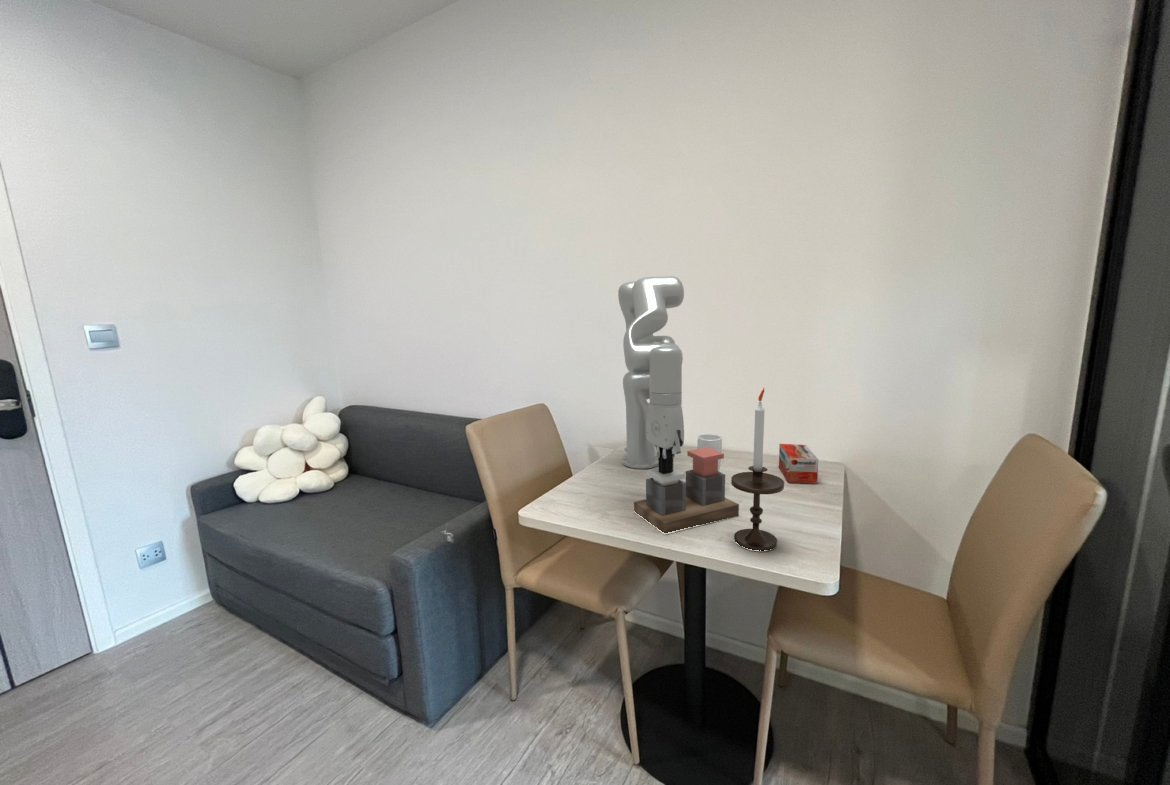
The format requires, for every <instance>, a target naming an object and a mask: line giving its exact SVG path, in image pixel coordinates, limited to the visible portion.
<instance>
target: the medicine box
mask: <svg viewBox="0 0 1170 785" xmlns="http://www.w3.org/2000/svg"><path fill="white" fill-rule="evenodd" d="M778 448H779V449H778V451H779V453H778V469H779V470H780V472H781V474H783V477H784V479H785V481H786V482H787V483H788V484H806V485H817V484H818V474H819V458H818V457H817V456H816V454H814V452H812V450H811V448H809V447H808V445H807V444H802V443H801V444H800V443H799V444H796V443H793V444H792V443H779V447H778Z"/></svg>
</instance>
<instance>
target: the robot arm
mask: <svg viewBox="0 0 1170 785" xmlns="http://www.w3.org/2000/svg"><path fill="white" fill-rule="evenodd" d="M684 289H685V288H684V285H683V282H682V281H681V279H680V278H679V277H677V276H674V275H673V276H671V275H670V276H669V275H668V276H645V277H642V278H639V279H637V280H635V281H634V280H633V281H627V282H625V283H624V282H623V284H621V285H620V286H619V287H618V291H617V294H618V295H617V296H618V304H619V307H620V310H621V312H622V316H623V319H624V321H625V326H626V327H625V332H624V336H623V341H622V343H623V344H622V346H623V347H622V348H623V356H624V363H625V367H626V368H627V371H628V372H627V373H625V374H624V375H623V378H622V388H623V393H624V400H625V401H624V402H625V415H626V416H625V417H626V418H625V420H626V424H625V426H626V433H625V434H626V447H624V451H625V452H626V456H624V457H623V458H622V460H621V461H622V464H623V466H625V467H628V468H632V469H642V470H643V469H651V468H652V469H653V468H655V467H658V468H659V472H660V473H662V474H667V473H672V472H673V468H674V458H675V455H678V454H682V450H681V447H682V446H684V442H685V426H684V425H685V424H684V414H683V407H682V404H683V400H682V399H683V398H682V397H683V395H682V394H683V391H682V386H683V385H682V384H683V382H682V381H683V380H682V378H683V377H682V376H683V375H682V373H683V372H682V369H683V366H682V365H683V359H684V358H683V351H682V349H681V348H680V347H679V345H677V344H676V341H675V340H674V338H673V337H671V336H669V335H654V334H655V333H657V332H660V331H661V330H662V329H664V327H666V325H667V323H668V320H669V315H668V310H667V309H672V308H677V307H679V306H681V305H682V303H683V302H684V297H685V290H684ZM648 400H649V402H648ZM656 455H657V456H658V457H657V456H656ZM658 468H657V469H658Z"/></svg>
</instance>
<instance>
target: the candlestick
mask: <svg viewBox="0 0 1170 785" xmlns="http://www.w3.org/2000/svg"><path fill="white" fill-rule="evenodd" d="M764 393H765V387H763V388H762V390H761V392H760V393H759V396H758V404H757V407H755V408H754V429H753V430H754V431H753V432H754V435H753V465H752V466H748V467H747V469H748V470H749V471H743V472H738V473H735V474H733V475H732V476H731V480H730V483H731V486H732V487H733V488H734V489H736V490H739V491H741V492H744V493H748V494H753V504H752V506H751V507H750V508H749V512H750V514H751V515H752V517H750V519H749V521H750V522H751V523H752V528H743V529H740V530H737V531H736V532H735V533H734V534H733V539H734V540H735V541H734V543H735V542H737V543H738V544H739V545H740V546H743V547H745V548H748V549H752V550H759V551H760V550H761V551H764V550H770V549H773V548H775V547H776V546H778V538H777V537H776V536H775V535H774V534H772V533H771V532H768V531H766V530H763V529H760V524H762V522H763V520H762V519H761V516H762V514H764V509H763V508H762V507H761V495H774V494H778V493H782V491H784V489H785V481H784V480H783V479H782V478H781V477H779V476H778V475H775V474H770V473H768V468H767V467H765V466H764V465H763V461H764V460H763V459H764V434H765V432H764V431H765V430H764V429H765V407H763V404H762V400H763V397H764ZM766 472H767V473H766ZM740 546H739V547H740ZM776 548H777V547H776ZM776 548H775V549H776ZM773 550H774V549H773Z"/></svg>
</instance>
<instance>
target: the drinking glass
mask: <svg viewBox="0 0 1170 785" xmlns="http://www.w3.org/2000/svg"><path fill="white" fill-rule="evenodd" d="M722 440H723V439H722V436H720V435H718V434H714V433H713V434H712V433H703V434H700V435H698V436H697V448H696V449H702V448H707V447H708V448H710V449H713V450H715V451H718V452H721V453H723V450H722V448H723V441H722ZM721 460H722V459H718V471H719V472H720V470H721Z"/></svg>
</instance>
